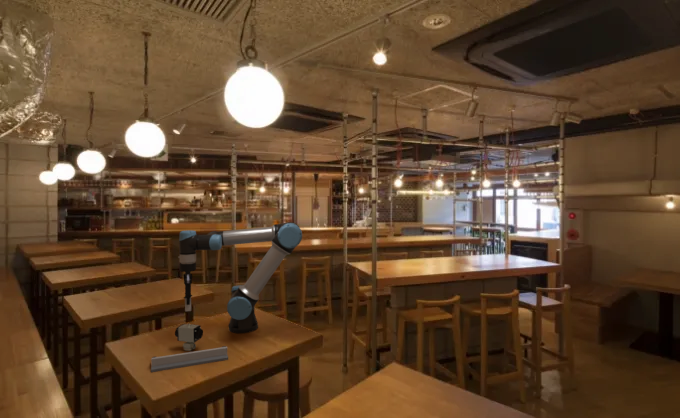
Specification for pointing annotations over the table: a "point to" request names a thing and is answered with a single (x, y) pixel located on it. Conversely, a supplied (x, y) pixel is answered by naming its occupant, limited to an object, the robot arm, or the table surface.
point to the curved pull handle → (188, 359)
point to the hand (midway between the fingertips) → (188, 310)
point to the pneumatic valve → (189, 335)
